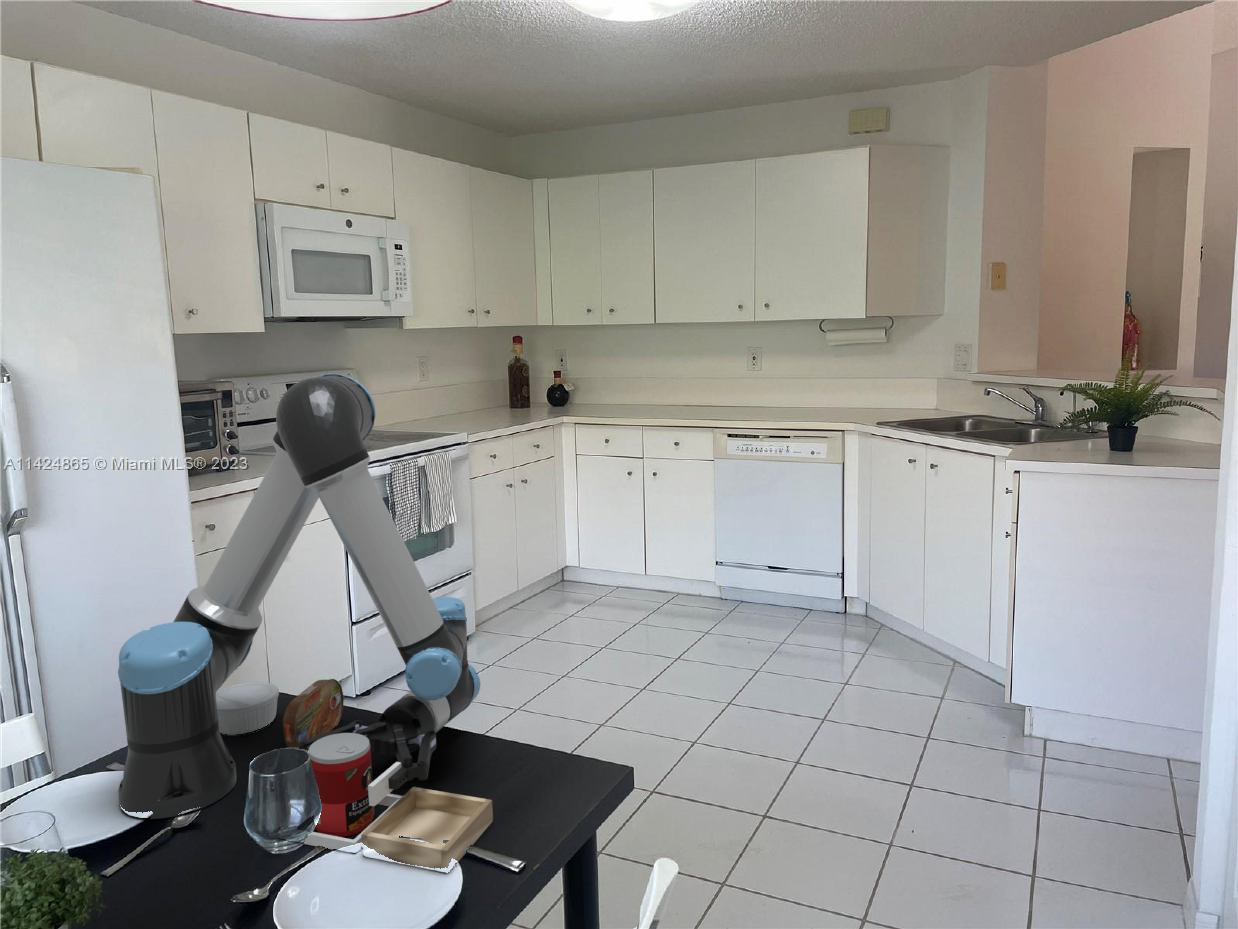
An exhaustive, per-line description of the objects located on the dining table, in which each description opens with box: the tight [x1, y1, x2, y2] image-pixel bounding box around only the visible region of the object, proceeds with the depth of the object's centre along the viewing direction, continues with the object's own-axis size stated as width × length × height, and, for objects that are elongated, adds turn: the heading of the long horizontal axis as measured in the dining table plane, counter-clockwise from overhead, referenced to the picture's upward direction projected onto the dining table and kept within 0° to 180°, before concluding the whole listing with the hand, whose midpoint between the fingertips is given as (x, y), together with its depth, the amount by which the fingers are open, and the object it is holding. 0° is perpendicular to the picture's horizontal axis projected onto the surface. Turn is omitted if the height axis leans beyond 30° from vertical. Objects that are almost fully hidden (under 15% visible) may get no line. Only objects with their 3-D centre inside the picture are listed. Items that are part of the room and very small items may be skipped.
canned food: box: [309, 733, 375, 838], centre depth 116 cm, size 8×8×11 cm
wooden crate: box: [361, 786, 494, 869], centre depth 112 cm, size 12×12×3 cm
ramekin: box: [216, 681, 280, 736], centre depth 147 cm, size 11×11×5 cm
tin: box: [282, 678, 344, 748], centre depth 141 cm, size 15×3×8 cm, turn 170°
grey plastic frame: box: [303, 793, 404, 851], centre depth 116 cm, size 12×12×2 cm
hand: (325, 788), depth 112 cm, fingers open, 13 cm apart
